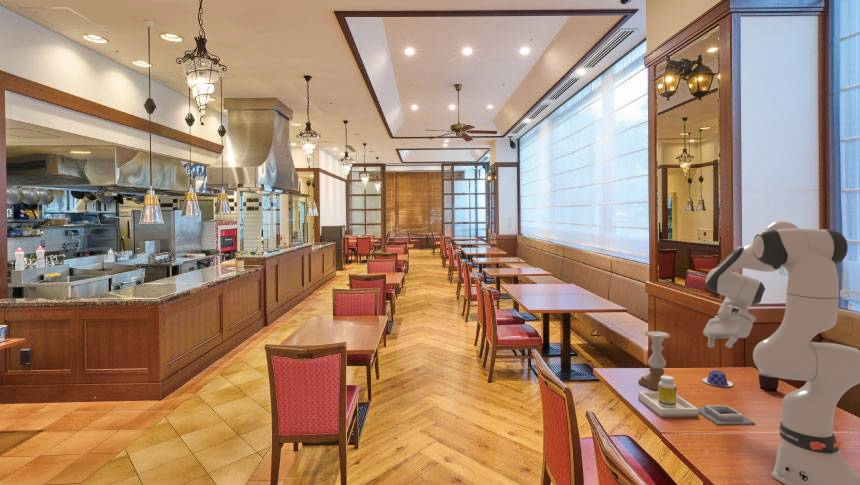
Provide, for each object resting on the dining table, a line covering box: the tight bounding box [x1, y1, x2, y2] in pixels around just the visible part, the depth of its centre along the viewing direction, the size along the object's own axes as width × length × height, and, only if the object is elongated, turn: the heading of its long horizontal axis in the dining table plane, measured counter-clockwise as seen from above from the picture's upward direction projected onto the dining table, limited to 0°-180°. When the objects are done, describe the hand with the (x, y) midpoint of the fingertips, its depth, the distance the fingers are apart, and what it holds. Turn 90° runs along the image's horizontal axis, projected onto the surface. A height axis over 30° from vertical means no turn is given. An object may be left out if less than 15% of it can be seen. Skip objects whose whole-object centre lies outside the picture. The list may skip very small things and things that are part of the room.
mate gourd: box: [758, 371, 780, 393], centre depth 195 cm, size 8×8×15 cm
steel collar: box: [697, 404, 756, 426], centre depth 168 cm, size 14×14×2 cm
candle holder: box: [637, 330, 676, 391], centre depth 200 cm, size 11×11×24 cm
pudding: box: [701, 370, 734, 388], centre depth 204 cm, size 12×12×5 cm
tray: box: [638, 390, 699, 418], centre depth 177 cm, size 18×14×3 cm
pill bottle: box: [658, 374, 677, 407], centre depth 176 cm, size 6×6×11 cm
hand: (718, 346), depth 168 cm, fingers open, 8 cm apart
